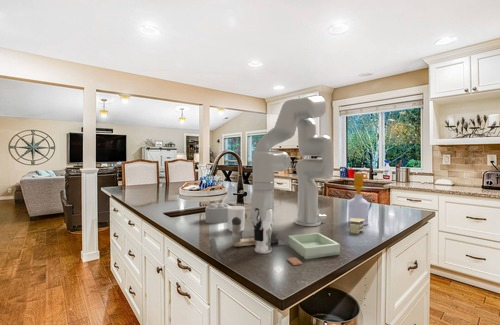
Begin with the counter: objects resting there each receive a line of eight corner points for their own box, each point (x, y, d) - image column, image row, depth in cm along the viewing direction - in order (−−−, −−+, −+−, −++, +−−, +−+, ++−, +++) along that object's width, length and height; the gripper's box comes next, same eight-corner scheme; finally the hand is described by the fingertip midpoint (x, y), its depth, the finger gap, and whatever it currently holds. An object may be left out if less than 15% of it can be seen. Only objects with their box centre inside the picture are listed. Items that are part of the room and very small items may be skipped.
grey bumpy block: (233, 221, 127) (233, 204, 127) (209, 224, 121) (209, 206, 121) (226, 216, 136) (226, 200, 136) (202, 219, 130) (202, 203, 130)
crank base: (277, 238, 102) (277, 236, 102) (309, 263, 78) (309, 261, 78) (258, 240, 99) (258, 238, 99) (285, 266, 76) (285, 264, 76)
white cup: (242, 232, 108) (242, 209, 108) (225, 231, 110) (225, 208, 110) (246, 227, 116) (246, 206, 116) (230, 226, 118) (230, 205, 117)
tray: (318, 241, 98) (318, 232, 98) (339, 254, 85) (339, 244, 85) (287, 245, 94) (287, 235, 94) (305, 259, 81) (305, 248, 81)
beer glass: (259, 255, 84) (259, 211, 84) (249, 248, 90) (249, 207, 90) (276, 252, 87) (277, 208, 87) (266, 245, 93) (266, 205, 93)
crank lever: (275, 238, 100) (275, 212, 99) (280, 242, 95) (280, 215, 95) (230, 243, 94) (230, 215, 94) (233, 247, 90) (233, 219, 89)
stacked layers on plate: (365, 237, 104) (366, 223, 104) (343, 233, 109) (343, 220, 109) (369, 230, 113) (369, 218, 112) (347, 227, 117) (348, 216, 117)
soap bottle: (348, 224, 122) (348, 173, 121) (348, 219, 130) (349, 172, 129) (368, 226, 118) (369, 174, 118) (367, 221, 127) (368, 172, 126)
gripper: (263, 183, 97) (263, 229, 98) (241, 189, 82) (241, 243, 83) (282, 184, 94) (281, 232, 94) (262, 190, 79) (262, 247, 79)
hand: (263, 237), depth 89 cm, fingers closed on beer glass, 6 cm apart
